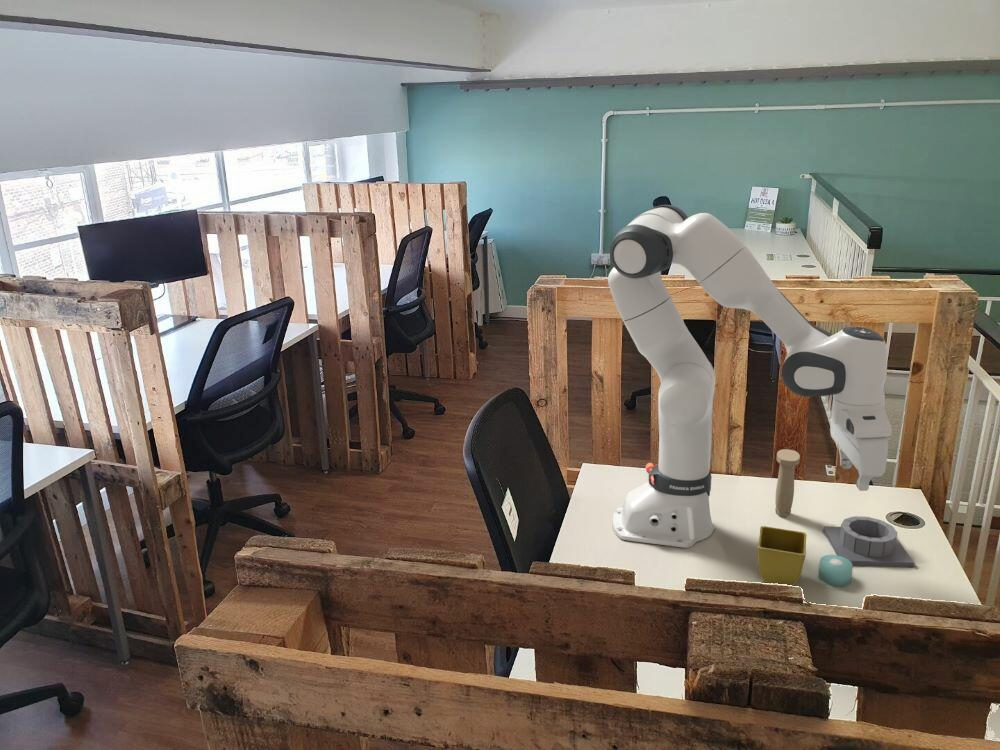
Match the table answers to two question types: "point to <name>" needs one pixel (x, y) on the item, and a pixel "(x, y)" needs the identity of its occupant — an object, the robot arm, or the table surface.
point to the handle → (785, 481)
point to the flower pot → (781, 555)
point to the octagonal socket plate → (868, 542)
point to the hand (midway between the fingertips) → (853, 477)
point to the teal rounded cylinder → (835, 570)
